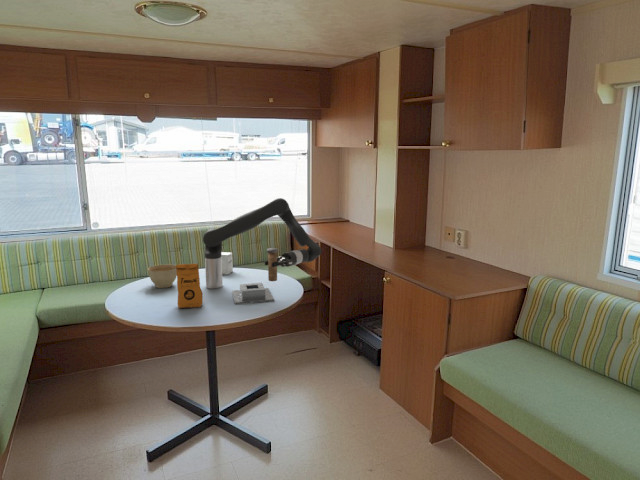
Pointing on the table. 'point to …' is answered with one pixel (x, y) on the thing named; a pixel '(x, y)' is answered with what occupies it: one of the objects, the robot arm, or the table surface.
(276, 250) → the walnut pin
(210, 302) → the table surface
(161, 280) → the planter bowl
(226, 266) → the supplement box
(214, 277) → the robot arm
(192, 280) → the coffee package
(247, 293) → the socket block
